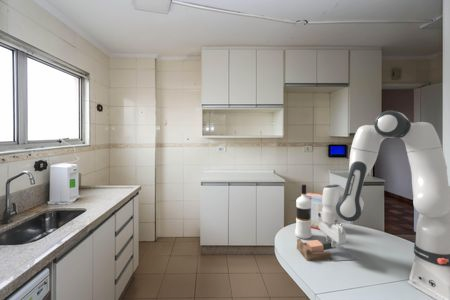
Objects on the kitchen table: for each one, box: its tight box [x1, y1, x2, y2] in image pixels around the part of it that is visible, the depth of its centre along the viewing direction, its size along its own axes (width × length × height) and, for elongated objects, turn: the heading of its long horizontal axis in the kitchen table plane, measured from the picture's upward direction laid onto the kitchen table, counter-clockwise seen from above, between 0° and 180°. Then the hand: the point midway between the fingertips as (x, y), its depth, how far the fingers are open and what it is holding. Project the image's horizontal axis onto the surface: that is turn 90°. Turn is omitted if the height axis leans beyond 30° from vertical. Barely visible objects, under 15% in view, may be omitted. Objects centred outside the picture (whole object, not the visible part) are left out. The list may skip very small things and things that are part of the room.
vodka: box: [294, 184, 313, 240], centre depth 144 cm, size 9×9×30 cm
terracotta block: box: [305, 239, 337, 252], centre depth 124 cm, size 6×13×5 cm, turn 95°
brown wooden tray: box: [296, 238, 331, 261], centre depth 124 cm, size 12×12×5 cm
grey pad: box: [324, 243, 360, 262], centre depth 125 cm, size 16×12×1 cm
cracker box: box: [306, 192, 323, 231], centre depth 158 cm, size 14×6×21 cm, turn 44°
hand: (330, 245), depth 124 cm, fingers closed on terracotta block, 2 cm apart
